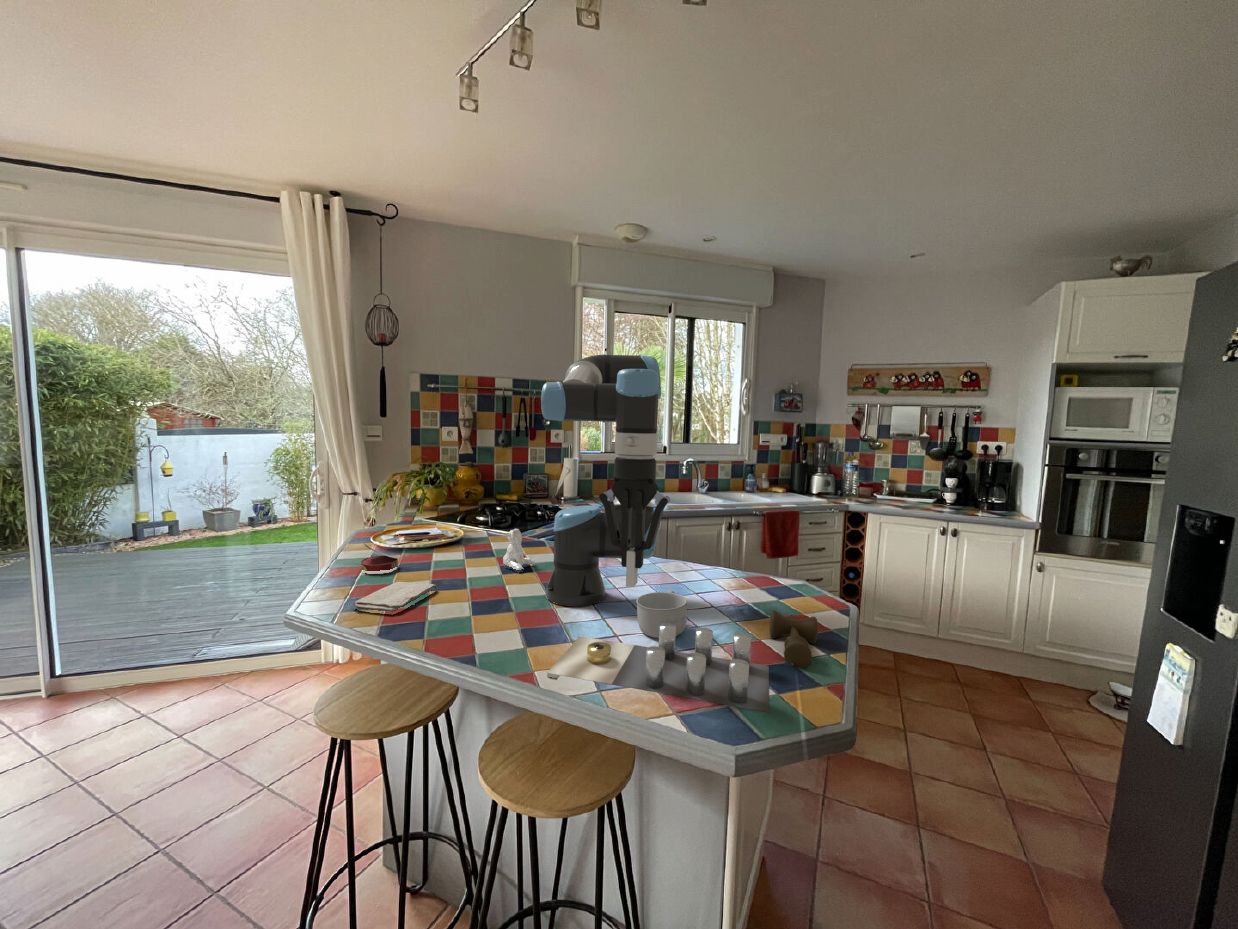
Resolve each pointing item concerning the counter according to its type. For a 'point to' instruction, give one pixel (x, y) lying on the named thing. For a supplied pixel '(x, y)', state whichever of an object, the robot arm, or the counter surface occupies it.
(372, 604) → the washcloth
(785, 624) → the kendama
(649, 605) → the teacup
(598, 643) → the brass knob
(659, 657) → the steel spacers
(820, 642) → the counter surface
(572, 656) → the board
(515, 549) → the sitting furry creature
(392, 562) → the red and clear bowl
